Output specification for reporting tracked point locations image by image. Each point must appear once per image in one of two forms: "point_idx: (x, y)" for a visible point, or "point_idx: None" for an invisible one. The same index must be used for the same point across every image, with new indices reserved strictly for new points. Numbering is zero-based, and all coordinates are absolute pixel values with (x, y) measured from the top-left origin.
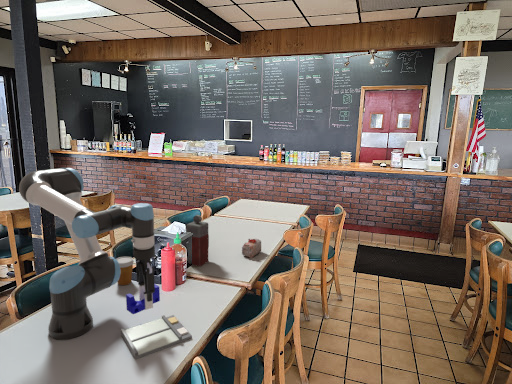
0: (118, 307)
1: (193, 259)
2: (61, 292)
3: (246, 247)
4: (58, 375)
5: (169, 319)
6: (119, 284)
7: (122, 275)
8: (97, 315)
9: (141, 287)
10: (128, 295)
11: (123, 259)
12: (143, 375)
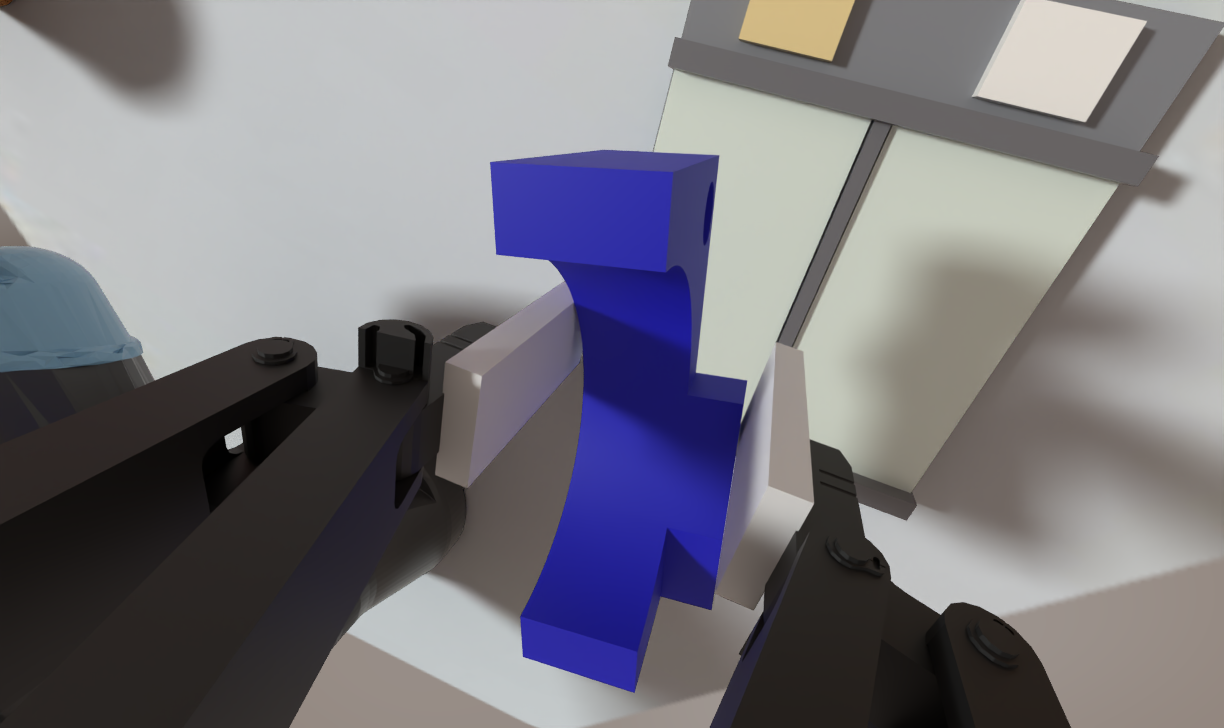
0: (302, 203)
1: None
2: None
3: None
4: (672, 683)
5: (764, 28)
6: (3, 3)
7: None
8: (330, 342)
9: (481, 454)
10: (562, 658)
11: None
12: (1079, 565)
